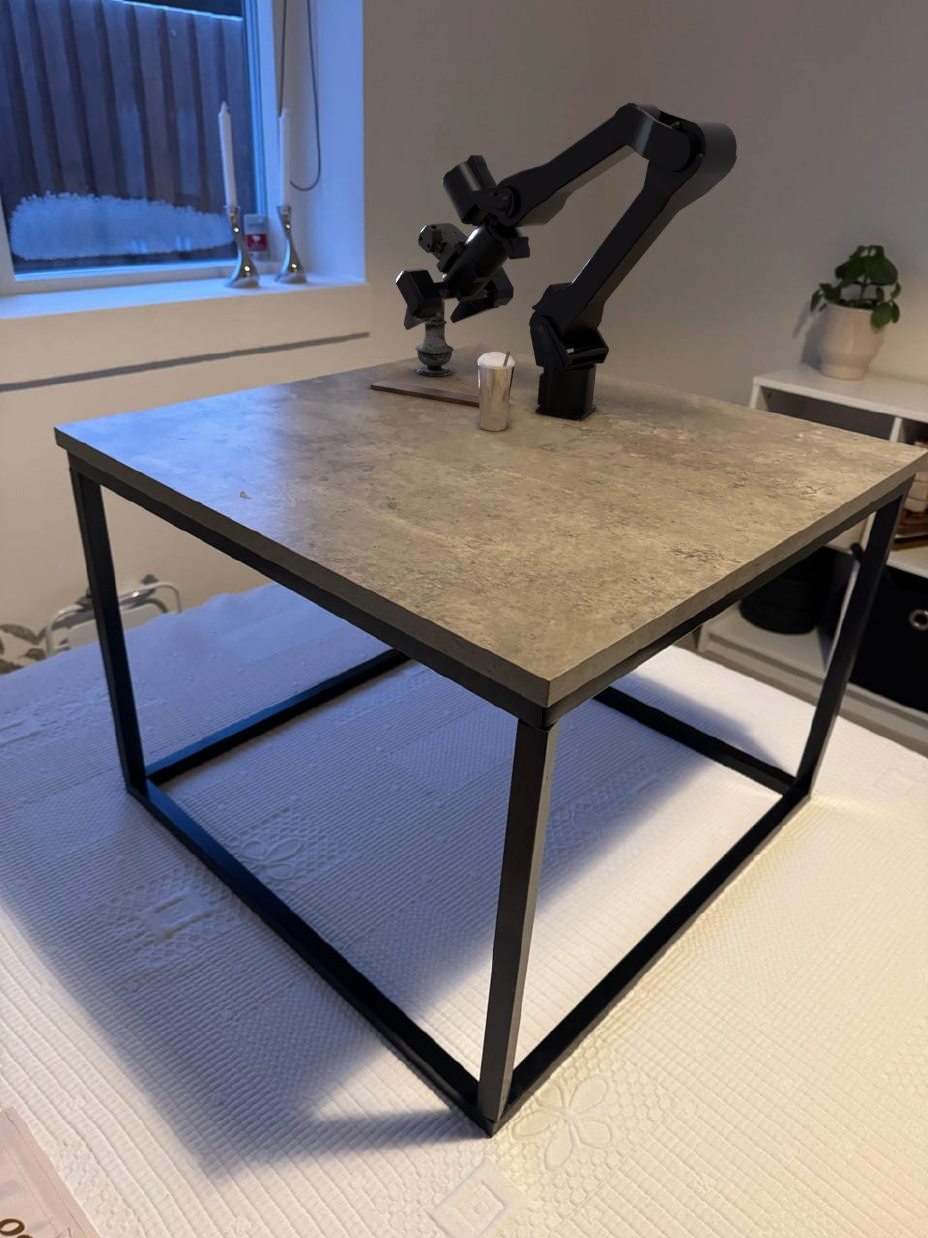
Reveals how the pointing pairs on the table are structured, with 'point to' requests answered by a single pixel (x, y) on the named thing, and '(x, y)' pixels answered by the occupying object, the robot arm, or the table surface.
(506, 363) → the milkshake
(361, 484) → the table surface
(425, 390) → the strip
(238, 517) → the table surface
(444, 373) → the salt shaker
